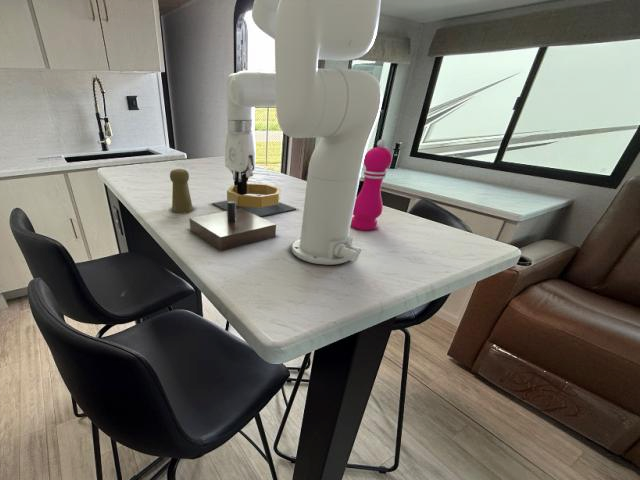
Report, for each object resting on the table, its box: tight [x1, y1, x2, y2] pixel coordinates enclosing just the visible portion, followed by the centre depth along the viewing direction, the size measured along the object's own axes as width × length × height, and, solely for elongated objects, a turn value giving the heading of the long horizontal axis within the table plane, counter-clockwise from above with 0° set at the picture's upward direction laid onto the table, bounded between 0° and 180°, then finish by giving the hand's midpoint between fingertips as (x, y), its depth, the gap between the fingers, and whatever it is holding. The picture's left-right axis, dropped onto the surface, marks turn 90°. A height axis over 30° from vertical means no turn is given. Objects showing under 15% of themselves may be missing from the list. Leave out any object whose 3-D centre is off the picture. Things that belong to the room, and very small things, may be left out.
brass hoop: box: [226, 182, 282, 208], centre depth 94 cm, size 15×15×3 cm
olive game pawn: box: [169, 168, 194, 214], centre depth 90 cm, size 6×6×11 cm
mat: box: [212, 194, 297, 218], centre depth 96 cm, size 18×18×1 cm
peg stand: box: [189, 201, 277, 251], centre depth 75 cm, size 15×15×8 cm
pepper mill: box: [350, 139, 393, 231], centre depth 76 cm, size 7×7×20 cm
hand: (240, 193), depth 99 cm, fingers closed on brass hoop, 1 cm apart
